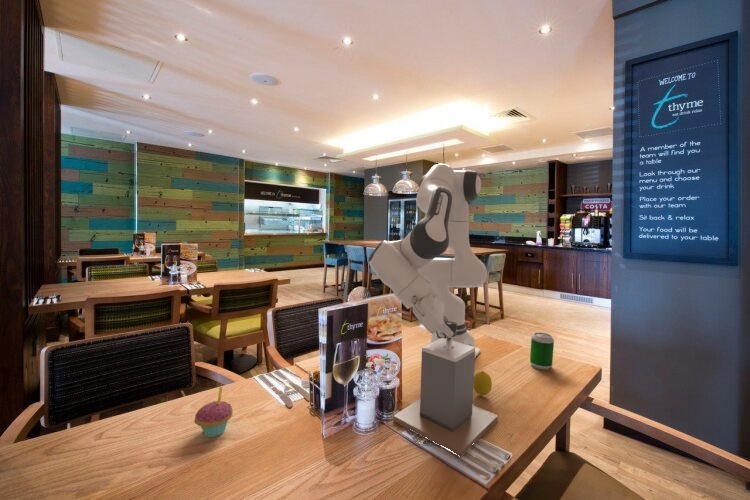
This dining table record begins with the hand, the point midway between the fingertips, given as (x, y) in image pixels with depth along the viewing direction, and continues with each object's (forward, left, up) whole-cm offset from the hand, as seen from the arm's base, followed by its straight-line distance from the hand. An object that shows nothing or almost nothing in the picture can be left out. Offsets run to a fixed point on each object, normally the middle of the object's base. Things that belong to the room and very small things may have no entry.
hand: (451, 332), depth 89 cm
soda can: (-55, +6, -25) cm, 60 cm away
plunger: (0, -1, -22) cm, 22 cm away
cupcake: (+45, -40, -25) cm, 65 cm away
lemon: (-19, 0, -25) cm, 31 cm away
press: (0, -1, -25) cm, 25 cm away
